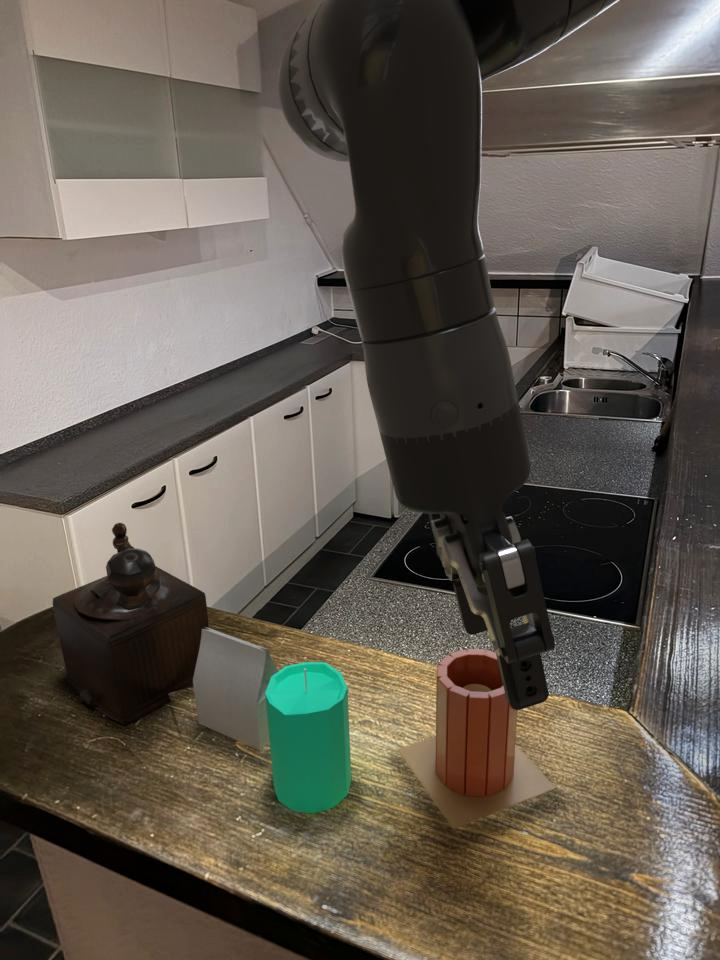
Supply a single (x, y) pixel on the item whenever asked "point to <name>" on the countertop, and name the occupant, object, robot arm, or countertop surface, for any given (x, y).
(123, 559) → the brown coffee grinder
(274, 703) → the candle
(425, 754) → the ring holder
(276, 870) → the countertop surface
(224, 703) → the tea bag
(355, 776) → the countertop surface
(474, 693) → the hollow cylinder
